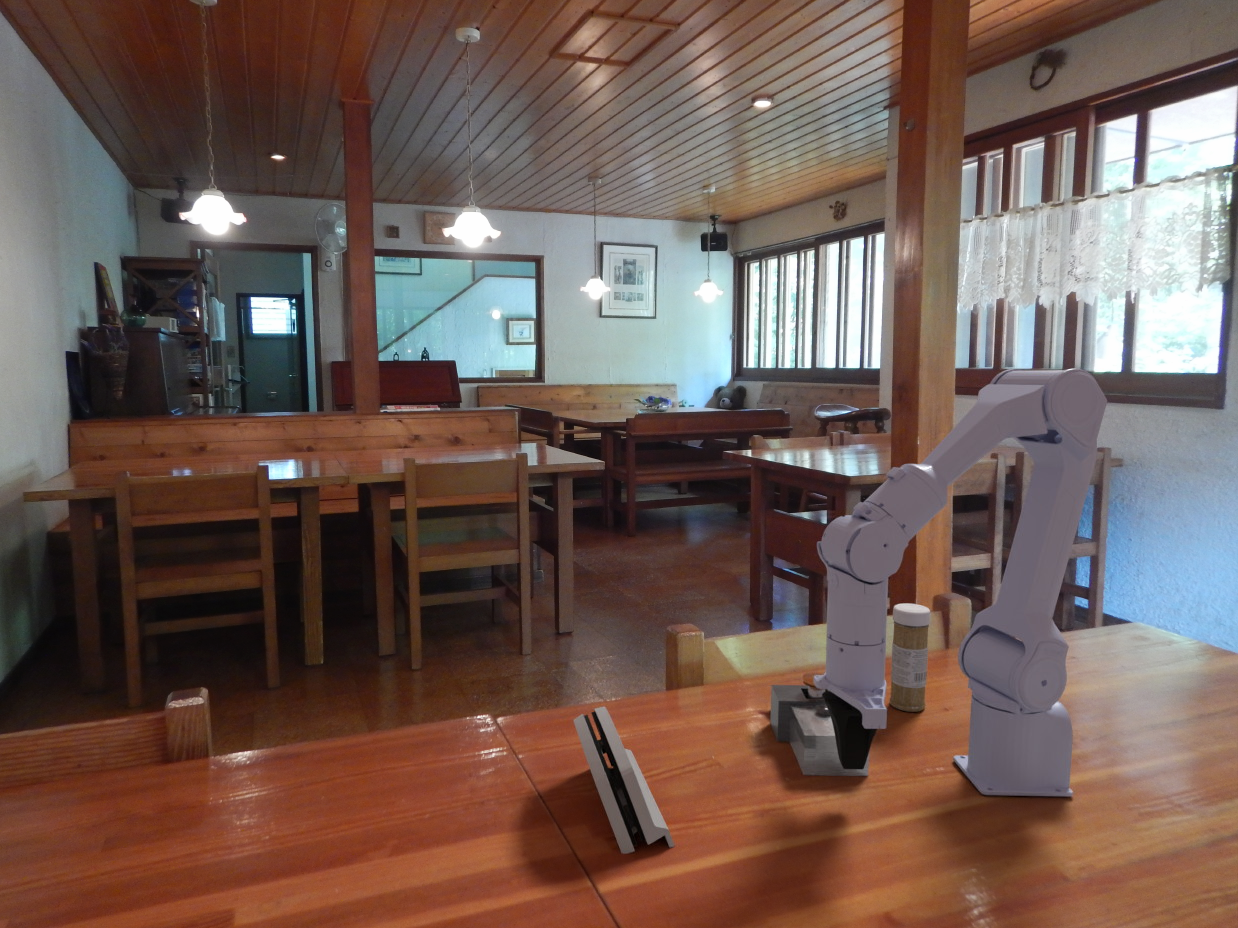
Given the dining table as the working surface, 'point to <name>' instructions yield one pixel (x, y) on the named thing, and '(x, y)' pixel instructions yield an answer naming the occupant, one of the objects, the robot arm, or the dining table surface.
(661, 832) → the grey slotted block
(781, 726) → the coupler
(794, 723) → the block
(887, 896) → the dining table surface
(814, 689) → the pin
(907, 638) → the sprinkles bottle
